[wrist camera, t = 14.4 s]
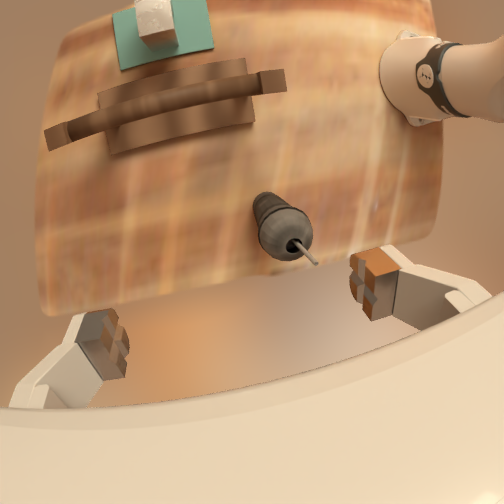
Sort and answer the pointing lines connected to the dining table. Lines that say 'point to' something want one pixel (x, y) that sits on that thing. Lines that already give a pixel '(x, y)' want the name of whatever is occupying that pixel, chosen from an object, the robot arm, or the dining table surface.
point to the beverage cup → (282, 228)
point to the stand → (171, 105)
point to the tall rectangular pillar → (156, 24)
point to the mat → (187, 27)
